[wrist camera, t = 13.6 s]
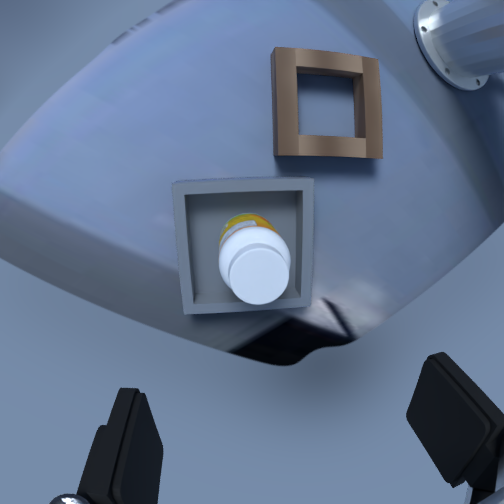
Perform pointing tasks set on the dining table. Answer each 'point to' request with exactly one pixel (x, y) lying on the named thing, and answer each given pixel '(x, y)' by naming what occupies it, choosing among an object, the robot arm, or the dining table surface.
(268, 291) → the supplement bottle
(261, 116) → the dining table surface
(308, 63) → the socket block
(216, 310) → the tray
